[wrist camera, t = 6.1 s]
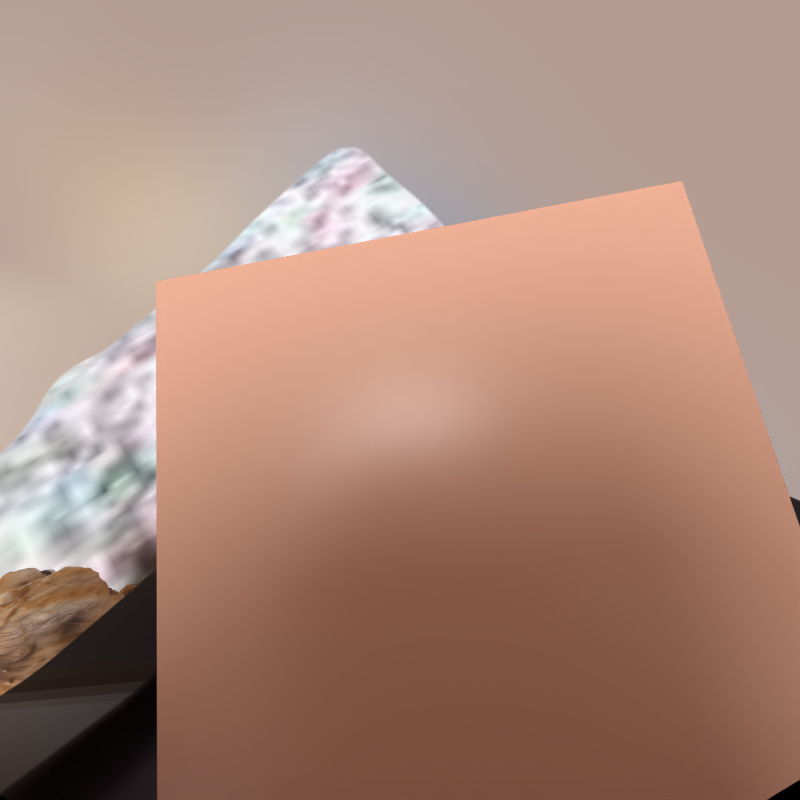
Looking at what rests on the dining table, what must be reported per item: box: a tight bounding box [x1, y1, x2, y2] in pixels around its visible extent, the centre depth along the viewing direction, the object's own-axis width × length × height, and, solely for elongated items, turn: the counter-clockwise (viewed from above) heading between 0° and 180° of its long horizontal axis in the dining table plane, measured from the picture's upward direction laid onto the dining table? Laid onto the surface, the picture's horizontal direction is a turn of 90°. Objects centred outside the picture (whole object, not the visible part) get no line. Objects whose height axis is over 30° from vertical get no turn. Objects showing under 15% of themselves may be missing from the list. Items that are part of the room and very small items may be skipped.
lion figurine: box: [0, 567, 136, 695], centre depth 17 cm, size 15×5×9 cm, turn 163°
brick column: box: [156, 181, 800, 800], centre depth 8 cm, size 5×5×12 cm
